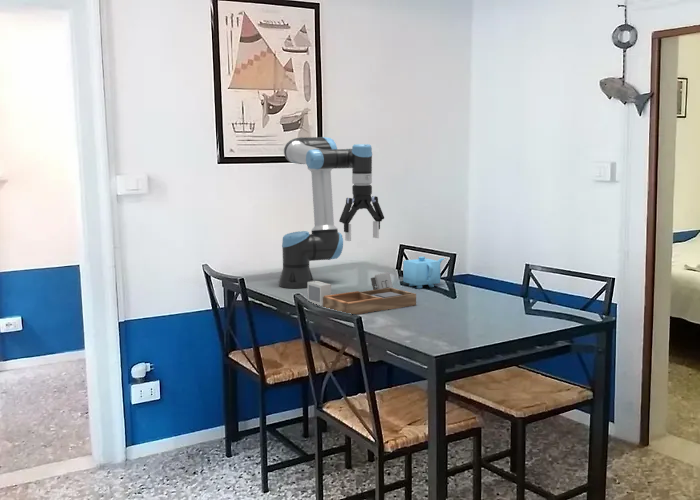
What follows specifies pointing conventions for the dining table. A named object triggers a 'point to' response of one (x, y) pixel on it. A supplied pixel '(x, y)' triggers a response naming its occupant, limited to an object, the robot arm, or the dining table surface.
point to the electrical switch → (381, 281)
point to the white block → (318, 291)
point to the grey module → (386, 295)
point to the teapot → (421, 272)
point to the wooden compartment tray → (368, 301)
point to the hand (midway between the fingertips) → (362, 239)
